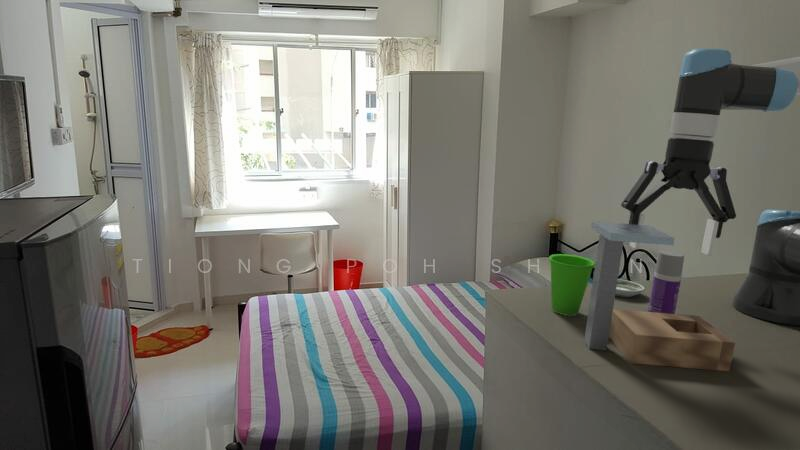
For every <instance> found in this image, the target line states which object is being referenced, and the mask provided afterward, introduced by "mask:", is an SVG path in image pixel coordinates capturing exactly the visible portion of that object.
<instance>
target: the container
mask: <svg viewBox="0 0 800 450" xmlns="http://www.w3.org/2000/svg"><path fill="white" fill-rule="evenodd" d="M684 261H685V254H683V253H681V252H678V251H674V250H663V249H662V250H659V251H658V255H657V259H656V264H655V269H654V274H653V280H652V285H651V291H650V297H649V303H648V304H649V305H648V310H647V312H655V313H668V314H676V310H677V308H676V307H677V304H678V299H679V293H680V287H681V281H682V274H683V268H684Z"/></svg>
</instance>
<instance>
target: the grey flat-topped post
mask: <svg viewBox="0 0 800 450" xmlns="http://www.w3.org/2000/svg"><path fill="white" fill-rule="evenodd" d="M590 228H591V229H592V230H594V231H595V232H597V233H598V234H599V236H598V237H599V239H598V245H597V251H596V259H595V266H594V271H593V277H592V278H593V279H592V285H591V286H592V287H591V292H590V293H591V294H590V299H589V305H588V313H587V318H586V325H585V334H584V339H583V340H584V341H585V342H586V344H587V345H586V344H585V345H586V346H588V347H587V348H588V349H589V350H598V351H607V349H608V342H609V339H610V338H609V331H610V325H611V318H612V312H613V309H614V305H615V298H616V295H615V293H616V286H617V280H618V279H619V272H620V266H621V259H622V255H623V254H622V253H623V246H624V242H626V243H630V242H635V243H640V244H648V245H649V244H650V245H661V246H662V245H663V246H674V244H675V237H673V236H672V235H669V234H667V233H666V232H663V231H661V230H659V229H658V228H655V227H653V226H651V225H647V224H643V225H636V224H629V223H620V222H608V221H607V222H606V221H597V220H592V221H591V225H590ZM584 341H583V342H584ZM585 342H584V343H585Z"/></svg>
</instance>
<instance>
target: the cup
mask: <svg viewBox="0 0 800 450" xmlns="http://www.w3.org/2000/svg"><path fill="white" fill-rule="evenodd" d="M548 260H550V285H551V287H550V288H551V289H550V290H551V293H550V294H551V308H552V311H553V310H555V311H556V312H559V313H562V314H567V315H574V314H577V315H578V313H579V311H580V308H581V305H582V302H583V299H584V297H585V293H586V290H587V287H588V283H589V281H590V277H591V274H592V271H593V267H595V264H596V261H594V260H592V259H590V258H588V257H585V256H582V255H581V256H580V255H574V254H570V253H569V254H566V253H565V254H564V253H558V254H557V253H556V254H555V253H553V254H551V255H549V256H548ZM556 312H555V313H556ZM574 316H575V315H574Z"/></svg>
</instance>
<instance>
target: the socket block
mask: <svg viewBox="0 0 800 450" xmlns="http://www.w3.org/2000/svg"><path fill="white" fill-rule="evenodd" d="M608 339H610V340H611V341H612V342H613V344H614V345H615V346H616V347H617V348H618V350H619V351H620V352H621V353H622V355H624V357H625V358H626V359H627V360H628V361H629V363H630V364H635V365H636V364H638V365H639V364H640V365H649V366H659V367H661V366H662V367H673V368H684V369H685V368H686V369H687V368H688V369H696V370H697V369H698V370H709V371H721V372H730V370H731V365H732V361H733V356H734V351H735V346H736V342H735V341H734V340H732V339H731V338H730V337H728V336H727V335H725V334H724V333H722V332H721V331H720V330H719V329H718V328H716V327H715V326H713V325H712V324H710V323H709V322H708V321H706V320H705V319H704V318H702V316H699V315H691V314H678V313H677V314H676V313H675V314H668V313H655V312H648V311H640V310H628V309H627V310H626V309H615V308H613V312H612V318H611V325H610V331H609V338H608Z"/></svg>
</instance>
